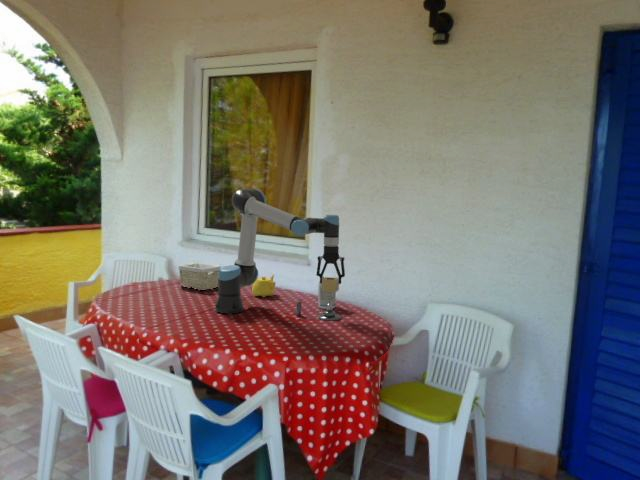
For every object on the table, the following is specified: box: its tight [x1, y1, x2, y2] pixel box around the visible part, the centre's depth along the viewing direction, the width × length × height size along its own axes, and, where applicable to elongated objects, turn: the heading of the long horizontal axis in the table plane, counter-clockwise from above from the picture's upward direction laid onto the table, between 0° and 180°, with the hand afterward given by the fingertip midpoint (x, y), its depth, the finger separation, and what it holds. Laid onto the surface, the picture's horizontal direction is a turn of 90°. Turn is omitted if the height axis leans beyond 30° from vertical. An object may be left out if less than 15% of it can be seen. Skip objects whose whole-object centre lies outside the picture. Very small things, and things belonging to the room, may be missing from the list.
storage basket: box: [178, 261, 222, 290], centre depth 314 cm, size 24×16×15 cm
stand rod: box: [296, 300, 302, 317], centre depth 254 cm, size 2×2×8 cm
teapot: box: [251, 274, 277, 298], centre depth 296 cm, size 14×14×12 cm
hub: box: [317, 304, 342, 322], centre depth 252 cm, size 12×12×7 cm
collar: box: [323, 276, 338, 293], centre depth 250 cm, size 7×7×6 cm
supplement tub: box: [317, 280, 337, 310], centre depth 272 cm, size 10×10×15 cm
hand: (330, 289), depth 251 cm, fingers closed on collar, 7 cm apart
